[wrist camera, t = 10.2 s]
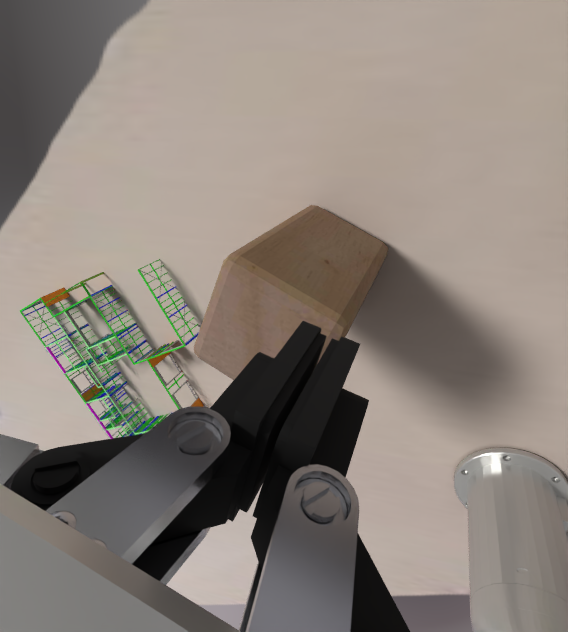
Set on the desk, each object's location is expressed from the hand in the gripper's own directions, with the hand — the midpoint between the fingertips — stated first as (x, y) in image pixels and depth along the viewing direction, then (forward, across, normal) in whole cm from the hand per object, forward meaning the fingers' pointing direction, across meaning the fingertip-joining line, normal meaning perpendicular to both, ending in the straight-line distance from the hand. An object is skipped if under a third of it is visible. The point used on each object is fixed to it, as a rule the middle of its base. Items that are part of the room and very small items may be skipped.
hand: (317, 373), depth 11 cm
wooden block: (+33, +6, +10) cm, 35 cm away
